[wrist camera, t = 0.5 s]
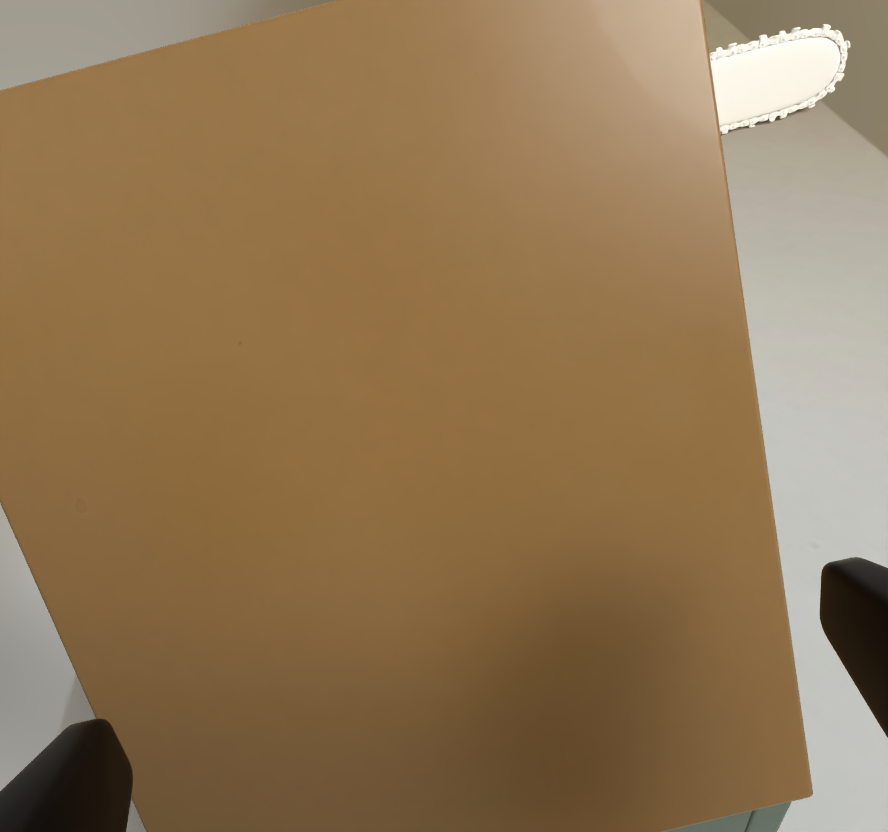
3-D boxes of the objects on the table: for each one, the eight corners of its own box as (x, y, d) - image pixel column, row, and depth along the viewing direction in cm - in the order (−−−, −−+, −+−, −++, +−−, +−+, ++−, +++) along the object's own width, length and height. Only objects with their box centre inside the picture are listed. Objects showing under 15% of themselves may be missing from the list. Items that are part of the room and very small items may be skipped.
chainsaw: (864, 123, 44) (921, -123, 36) (312, 266, 45) (234, 60, 36) (751, 42, 55) (773, -163, 46) (306, 159, 56) (244, -20, 47)
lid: (-125, 140, 10) (-168, 133, 10) (669, -73, 10) (691, -97, 9) (207, 907, 14) (195, 946, 13) (793, 765, 14) (815, 798, 13)
